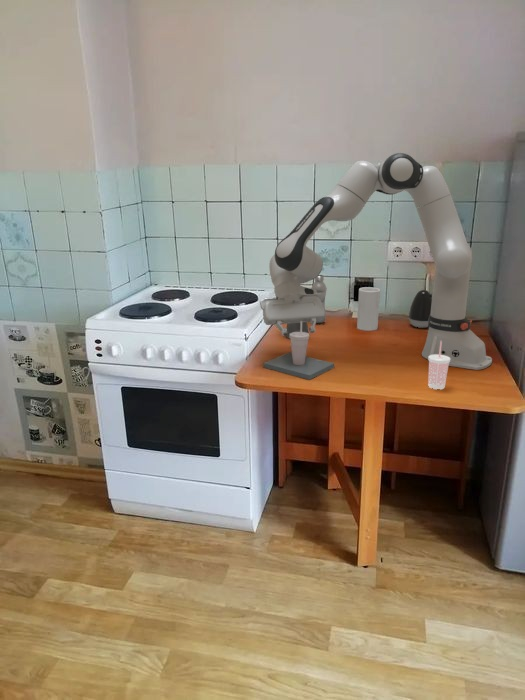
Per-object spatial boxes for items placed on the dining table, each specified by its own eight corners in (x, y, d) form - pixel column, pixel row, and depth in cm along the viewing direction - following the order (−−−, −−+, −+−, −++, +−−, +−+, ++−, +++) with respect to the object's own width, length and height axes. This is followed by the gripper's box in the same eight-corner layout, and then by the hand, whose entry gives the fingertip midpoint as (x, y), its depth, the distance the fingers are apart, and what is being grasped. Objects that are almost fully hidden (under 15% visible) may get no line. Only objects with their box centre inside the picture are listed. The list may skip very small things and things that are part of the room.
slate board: (334, 367, 174) (334, 363, 173) (309, 379, 163) (309, 375, 163) (289, 356, 185) (289, 352, 184) (263, 367, 174) (263, 362, 174)
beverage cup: (448, 384, 160) (453, 339, 155) (446, 391, 154) (451, 345, 150) (426, 381, 162) (431, 337, 158) (424, 388, 157) (428, 342, 152)
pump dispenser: (433, 330, 215) (437, 293, 210) (407, 328, 218) (410, 291, 213) (434, 324, 224) (438, 288, 219) (408, 322, 227) (411, 286, 222)
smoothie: (309, 366, 171) (310, 323, 166) (289, 366, 171) (289, 323, 166) (308, 359, 177) (309, 318, 172) (288, 359, 177) (289, 318, 172)
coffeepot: (317, 338, 205) (319, 292, 199) (298, 342, 200) (299, 295, 194) (292, 329, 217) (292, 285, 211) (273, 333, 211) (273, 288, 206)
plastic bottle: (327, 321, 228) (329, 274, 222) (322, 325, 222) (324, 277, 216) (313, 320, 231) (314, 273, 225) (307, 324, 225) (308, 276, 219)
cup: (379, 330, 215) (381, 291, 210) (358, 330, 215) (360, 291, 210) (375, 325, 223) (377, 287, 218) (355, 325, 223) (357, 287, 218)
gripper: (260, 293, 172) (269, 330, 166) (320, 289, 177) (331, 325, 171) (257, 303, 177) (265, 340, 171) (315, 300, 182) (325, 335, 176)
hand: (298, 333), depth 171 cm, fingers open, 8 cm apart
